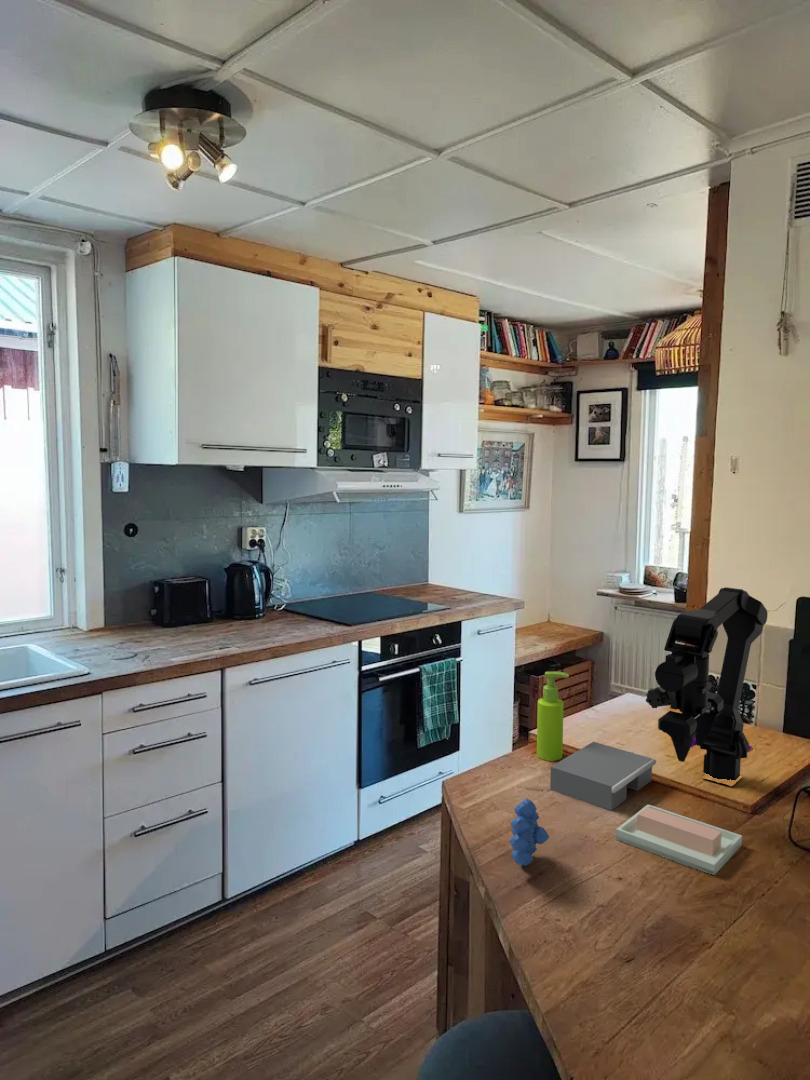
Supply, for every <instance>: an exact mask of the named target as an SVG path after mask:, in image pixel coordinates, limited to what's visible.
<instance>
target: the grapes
mask: <svg viewBox="0 0 810 1080" xmlns="http://www.w3.org/2000/svg"><path fill="white" fill-rule="evenodd" d="M537 810H538V808H537V806H536V805H535V803H534V802H533V801H532V800H531V799H529V798H525V799H523V800H522V801H521V802H519V804H518V805H516V806H515V807H514V809H513V811H514V812H515V814H516V817H514V819H513V820H512V821H510V825H511V830H510V831H511V834H512V835H513V836H512V837H511V838H510V839H509V840H508V842H509V844H510V846H511V847H512V849H513V850H512V851H511V853H510V856H511V857H512V859H513V860H514V862H515V863H516V864H518V865H520V866H522V865H525V866H524V867H526V865H527V866H528V865H530V863H532V862H533V861H534V857H533V854H535V853H536V851H537V850H538V849H537V846H536V845H537V844H538V845H542V844H545V842H547V840H548V839H550V835H549V834H548V832H547V830H546V829H545V828H544V827H543V826H539V824H538V819H540V816H539V814H538V812H537Z"/></svg>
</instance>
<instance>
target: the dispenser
mask: <svg viewBox="0 0 810 1080" xmlns="http://www.w3.org/2000/svg"><path fill="white" fill-rule="evenodd" d="M656 764H657V760H656V759H655V758H652V757H649V756H644V755H641V754H638V753H634V752H631V751H628V750H624V749H620V748H618V747H614V746H610V745H607V744H604V743H600V742H596V741H592V742H590V743H589V744H587V745H585V746H583V747H582V748H580V749H579V750H577V751H575V752H574V753H572V754H570V755H569V756H566V757H565V758H563V759H560V760H559V761H558V762H556V763H555V764H553V765H551V766H550V785H549V788H550V789H549V790H551V791H554V792H557V793H560V794H563V795H566V796H568V797H570V798H575V799H577V800H580V801H583V802H586V803H589V804H592V805H594V806H597V807H599V808H602V809H605V810H609V811H612V810H614V809H615V808H617V807H618V806H619V805H621V804H622V803H623V802H625V801H627V790H628V789H632V790H635V791H637V792H638V791H639V790H641V789H642V788H644V787H645V786H646V785H647V784H648V783H649V784H650V783H651V782H652V773H653V772H652V771H653V766H655V765H656ZM627 788H628V789H627Z"/></svg>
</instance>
